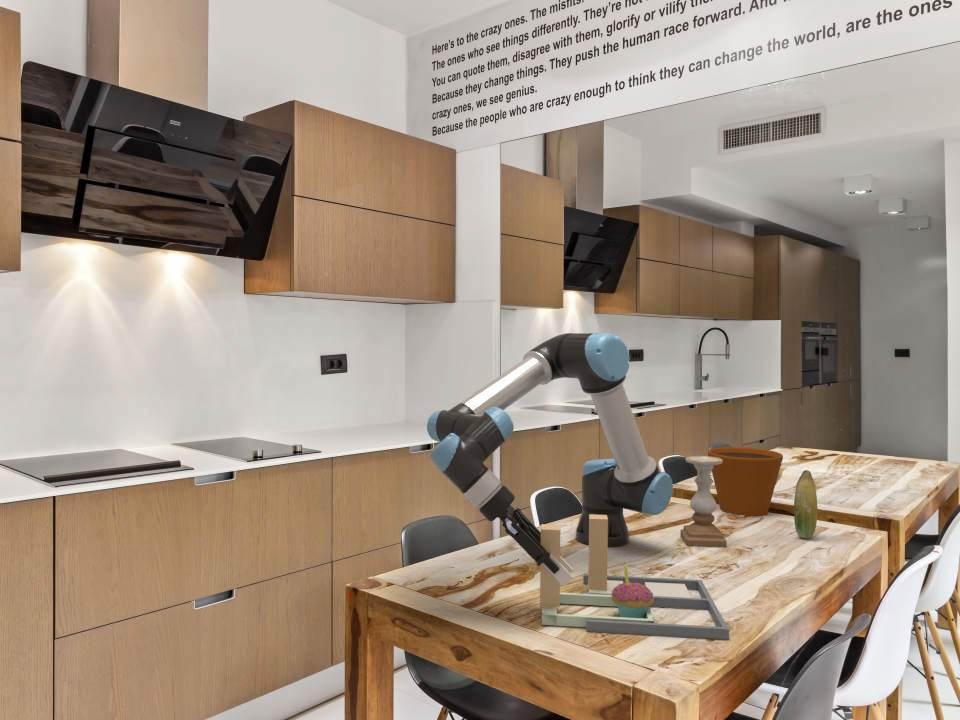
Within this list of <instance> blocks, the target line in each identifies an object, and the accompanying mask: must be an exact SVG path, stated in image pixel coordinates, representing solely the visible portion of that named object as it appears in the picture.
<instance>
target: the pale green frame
mask: <svg viewBox="0 0 960 720" xmlns="http://www.w3.org/2000/svg"><path fill="white" fill-rule="evenodd" d="M540 532H541V545H542V546H543V547H544V549H545V550H546V551H547V552H548V553H549V554H552V555H553V556H554V557H555V558H556V559H557V560H558V561H559V562H560V556H561V524H543V523H542V524H541V526H540ZM539 567H540V571H539V572H540V573H539V574H540V575H539V576H540V578H539V607H542V608H541V625H542V626H559V627H576V628H586V625H587V619H591V620H608V621H626V622H644V623H655V620H654V616H653V613H652V611H651V610H652V609H651V607H650V606H649V607H648V609H647V610H646V614H645V617H644V619H643V618H625V617H620V616H608V615H604V616H602V615H589V614H588V615H586V614H570V613H567V614H566V613H558V608H560V604H561V605H562V604H565V605H581V606H582V605H583V606H601V607H617V605H616V603H614V602H613V600H612V595H596V594H585V593H576V592H575V593H574V592H573V593H572V592H571V593H570V592H561V587H560V586H561V583H560V582H559V581H558V580H557V579H556V578H555V577H554V576H553V575H552V574H551V573H550V572H549V571H548V570H547V569H546V568H545V567H544V566H543V565H542V564H541V565H540V566H539Z"/></svg>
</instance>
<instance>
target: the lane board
mask: <svg viewBox="0 0 960 720" xmlns="http://www.w3.org/2000/svg"><path fill="white" fill-rule="evenodd" d="M582 577H583V581H582V583H583V585H588V574H583V576H582ZM628 579H629V582H632V583H634V582H635V583H641V584H643V585H644V586H645V582H654V583H675V584H685V586H686V588H687V590H688V591H690V590H693V591H695V590H696V591H698V593H699V596H700V597H701V598H700V597H699V598H698V597H697V598H696V597H691V598H684V597H664V596H653V598H654V603H653V604H652V605H651V606H650V608H651V607H652V608H669V609H670V608H671V609H672V608H673V609H684V610H685V609H688V610H689V609H690V610H707V611H708V613H709V614H710V616H711V619H712V620H713V622H714V624H715V626H712V625H695V624H693V625H692V624H679V623H677V624H675V623H673V624H672V623H661V622H660V623H659V622H656V623H655V622H654V623H644V622H626V621H608V620H591V619H587V625H586V627H585V628H586V629H585V630H586V632H593V633H609V634H610V633H611V634H624V635H625V634H626V635H628V634H629V635H641V636H642V635H643V636H646V635H647V636H657V637H658V636H659V637H661V636H662V637H674V638H675V637H678V638H693V639H710V640H711V639H712V640H727V641H728V640H730V628H729V627H728V625H727V623H726V621H725V620H724V618H723V616H722V613H721V612H720V611H719V609H718V607H717V605H716V604H715V601H714V600H713V598H712V597H711V595H710V593H709V591H708V590H707V587H706V586H705V584H704V581H703V580H701V579H687V578H670V577H668V578H665V577H648V576H647V577H646V576H640V577H639V576H628ZM607 580H614V581H623V583H625V582H626V581H625V575H624V576H623V575H607ZM584 594H596V595H612V594H606V593H589V592H584Z"/></svg>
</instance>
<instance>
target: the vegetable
mask: <svg viewBox="0 0 960 720" xmlns="http://www.w3.org/2000/svg"><path fill="white" fill-rule="evenodd" d="M793 515H794V517H793V519H794V520H793V521H794V527H795V531H796V533H797V535H798V536H799V537H800V538H802V539H806V540H807V539H811V538H812V537H813V535H815V533H816V527H817V523H818V522H817V521H818V520H817V519H818V495H817V490H816V484H815V481H814V478H813V476H812V473H811V471H810V470H807V469H805V470H803V471H802V473H801V474H800V476H799V478H798V480H797V482H796V485H795V493H794V499H793Z"/></svg>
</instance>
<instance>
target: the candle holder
mask: <svg viewBox="0 0 960 720" xmlns="http://www.w3.org/2000/svg"><path fill="white" fill-rule="evenodd" d="M685 462H686V463H689V464H693V466H694V468H695V469H696V472H697V475H696V477H695V478H694V483H695V484H696V487H697V489H696V491H695V493H694V494H693V496H692V498H691V500H690V503H689V506H690V509H691V510H692V511H694V513H693V514H692V516H691V519H692V520H693V522H692V523H690V524H685V525H683V528H682V529H680V531H679V533H680V536H679V537H680V538H681V540H682V541H683V543H684V545H686V547H693V546H697V548H698V547H699V548H701V547H702V548H720V547H726V548H727V545H728V544H727V540H726V538H725V537H724V534H723V532H722V531H721V530H720V529H719V528H718V526H716V525H714V524H713V522H714V521H715V516H714V515H713V513H714V512H715V511H716V510H717V507H718V506H717V505H718V504H717V501H716V499H715V498H714V496H713V494H712V492H711V486H712V485H713V484H714V479H712V478H713V477H712V476H711V473H712V469H713V468H714V465H719V464H722V463H723V460H722V459H721V458H717V457H710V456H708V455H690V456H686V457H685Z"/></svg>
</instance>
